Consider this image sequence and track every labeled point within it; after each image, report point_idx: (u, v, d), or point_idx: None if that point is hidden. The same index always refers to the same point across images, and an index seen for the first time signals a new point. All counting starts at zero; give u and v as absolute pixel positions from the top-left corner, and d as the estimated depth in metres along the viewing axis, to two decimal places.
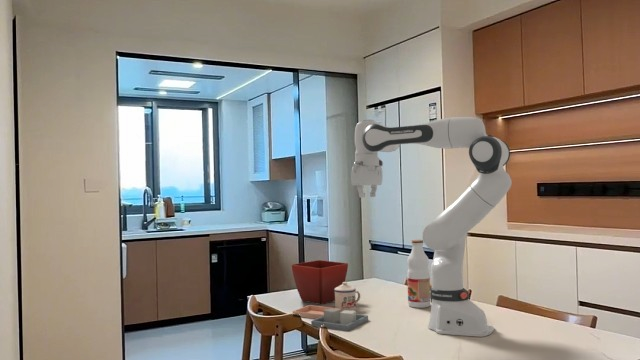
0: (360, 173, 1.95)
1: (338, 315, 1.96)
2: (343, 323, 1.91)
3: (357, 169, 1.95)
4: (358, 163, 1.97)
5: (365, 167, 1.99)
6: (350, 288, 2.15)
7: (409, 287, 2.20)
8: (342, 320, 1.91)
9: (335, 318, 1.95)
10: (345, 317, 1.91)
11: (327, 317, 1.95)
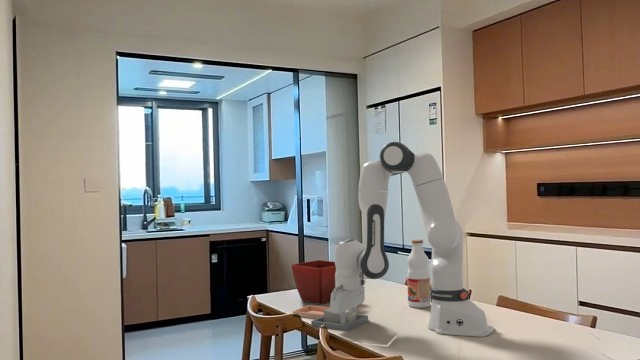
0: (340, 300, 1.85)
1: (338, 315, 1.96)
2: (343, 323, 1.91)
3: (336, 296, 1.85)
4: (338, 289, 1.86)
5: (345, 292, 1.89)
6: None
7: (409, 287, 2.20)
8: None
9: (335, 318, 1.95)
10: None
11: (327, 317, 1.95)
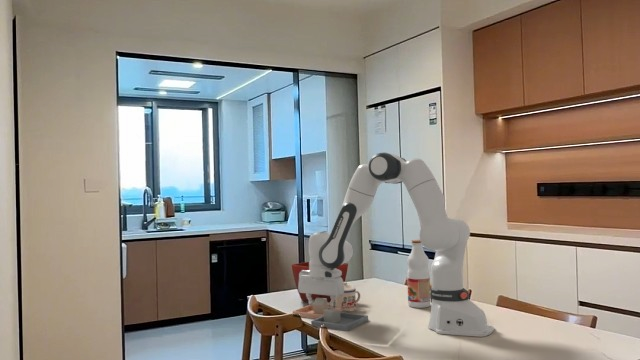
0: (300, 282, 2.15)
1: (338, 315, 1.96)
2: None
3: None
4: (304, 272, 2.16)
5: (309, 277, 2.13)
6: (350, 288, 2.15)
7: (409, 287, 2.20)
8: None
9: (335, 318, 1.95)
10: None
11: (327, 317, 1.95)
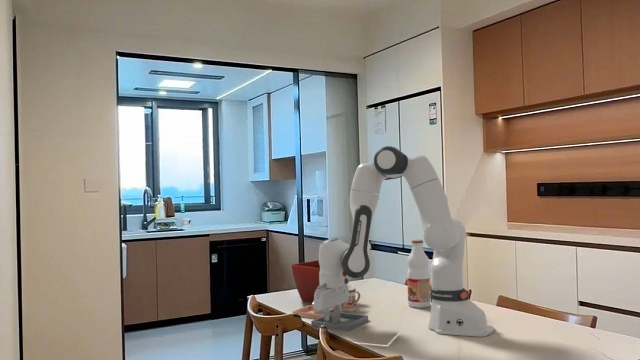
0: (323, 299, 1.88)
1: (338, 315, 1.96)
2: None
3: (319, 295, 1.88)
4: (321, 287, 1.90)
5: (329, 290, 1.92)
6: (350, 288, 2.15)
7: (409, 287, 2.20)
8: None
9: (335, 318, 1.95)
10: None
11: None
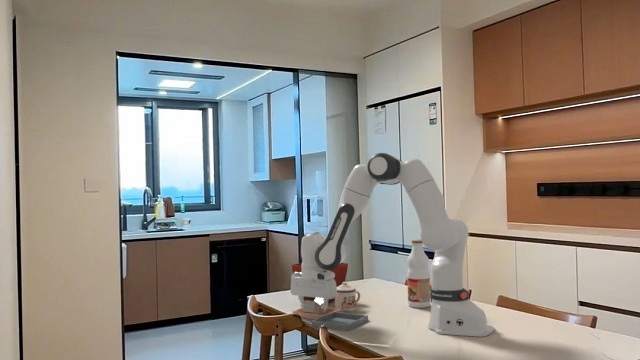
0: (292, 284, 2.10)
1: None
2: None
3: None
4: (296, 274, 2.11)
5: (301, 279, 2.08)
6: (350, 288, 2.15)
7: (409, 287, 2.20)
8: None
9: None
10: None
11: None
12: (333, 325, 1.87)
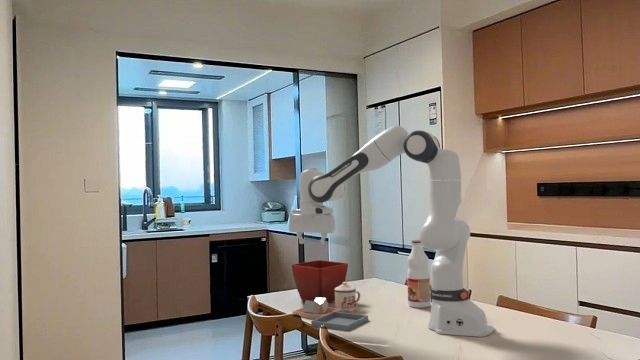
0: (290, 221, 2.11)
1: None
2: None
3: None
4: (294, 211, 2.11)
5: (299, 215, 2.08)
6: (350, 288, 2.15)
7: (409, 287, 2.20)
8: None
9: None
10: None
11: None
12: (333, 325, 1.87)
